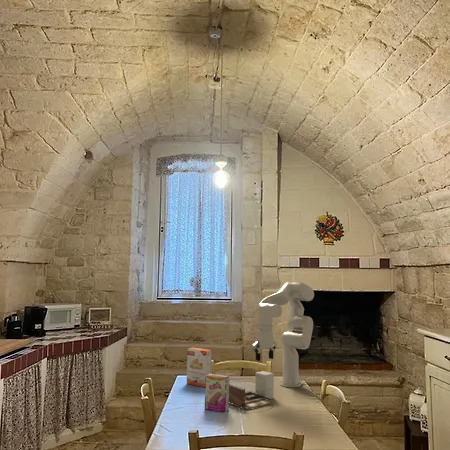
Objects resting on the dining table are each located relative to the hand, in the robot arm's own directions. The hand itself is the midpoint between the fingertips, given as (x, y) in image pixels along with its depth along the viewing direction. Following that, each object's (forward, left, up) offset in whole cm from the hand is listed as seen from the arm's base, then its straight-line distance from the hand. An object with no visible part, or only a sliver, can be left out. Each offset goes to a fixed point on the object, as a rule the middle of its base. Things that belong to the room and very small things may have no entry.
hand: (264, 359), depth 237 cm
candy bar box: (+34, +2, -20) cm, 40 cm away
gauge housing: (+14, +2, -20) cm, 24 cm away
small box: (0, 0, -20) cm, 20 cm away
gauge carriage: (+9, +3, -19) cm, 21 cm away
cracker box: (+15, -41, -20) cm, 48 cm away
